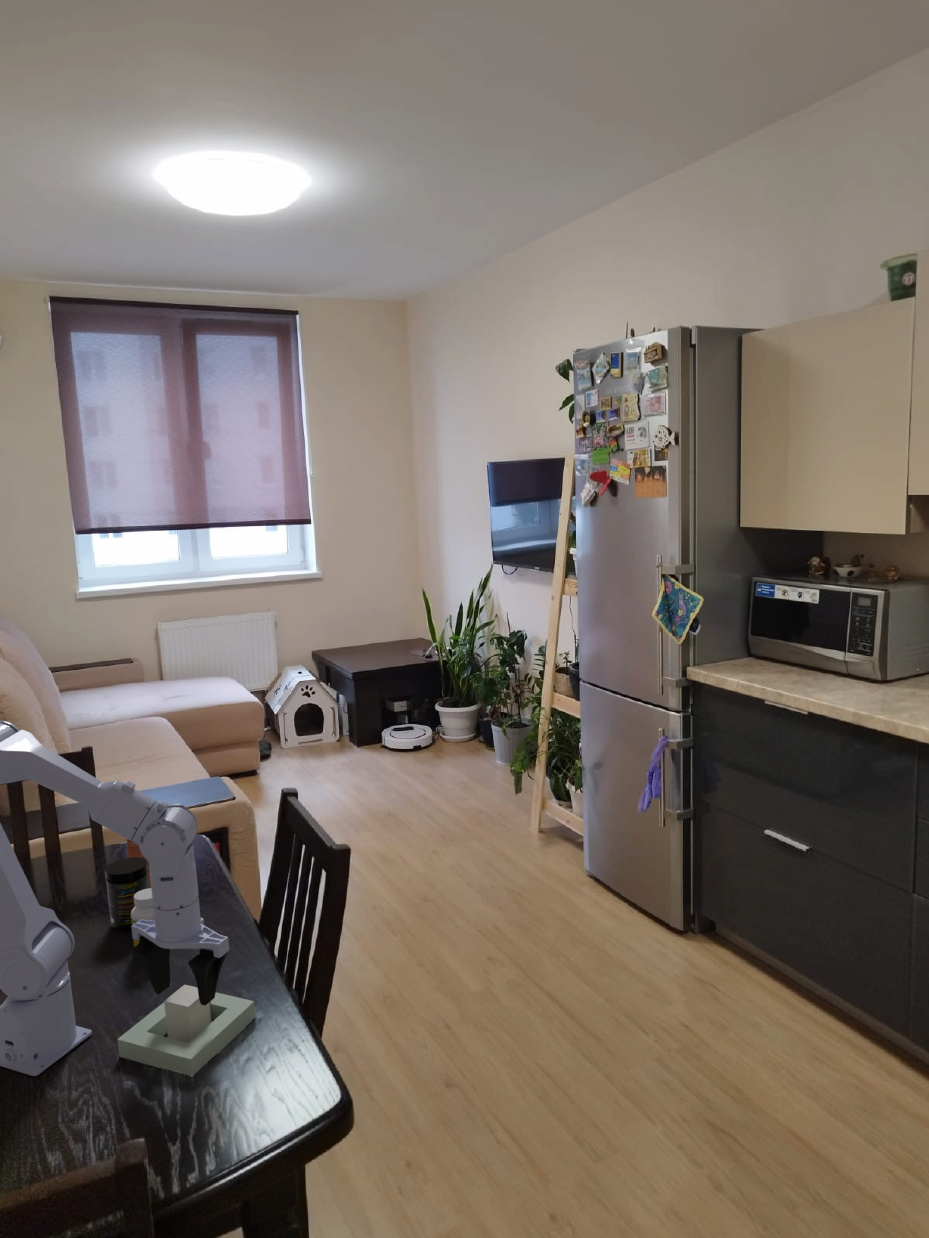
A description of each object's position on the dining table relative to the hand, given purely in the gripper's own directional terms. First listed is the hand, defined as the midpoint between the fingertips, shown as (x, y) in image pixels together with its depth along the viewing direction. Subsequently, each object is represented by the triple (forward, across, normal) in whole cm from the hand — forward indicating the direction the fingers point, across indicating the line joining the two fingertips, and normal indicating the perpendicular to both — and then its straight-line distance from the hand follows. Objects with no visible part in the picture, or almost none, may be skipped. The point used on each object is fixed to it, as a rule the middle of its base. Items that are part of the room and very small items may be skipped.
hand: (185, 995), depth 116 cm
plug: (+6, 0, 0) cm, 6 cm away
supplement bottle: (+6, +21, -16) cm, 27 cm away
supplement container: (+6, +31, -22) cm, 38 cm away
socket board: (+6, 0, 0) cm, 6 cm away
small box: (+6, +36, -34) cm, 50 cm away
